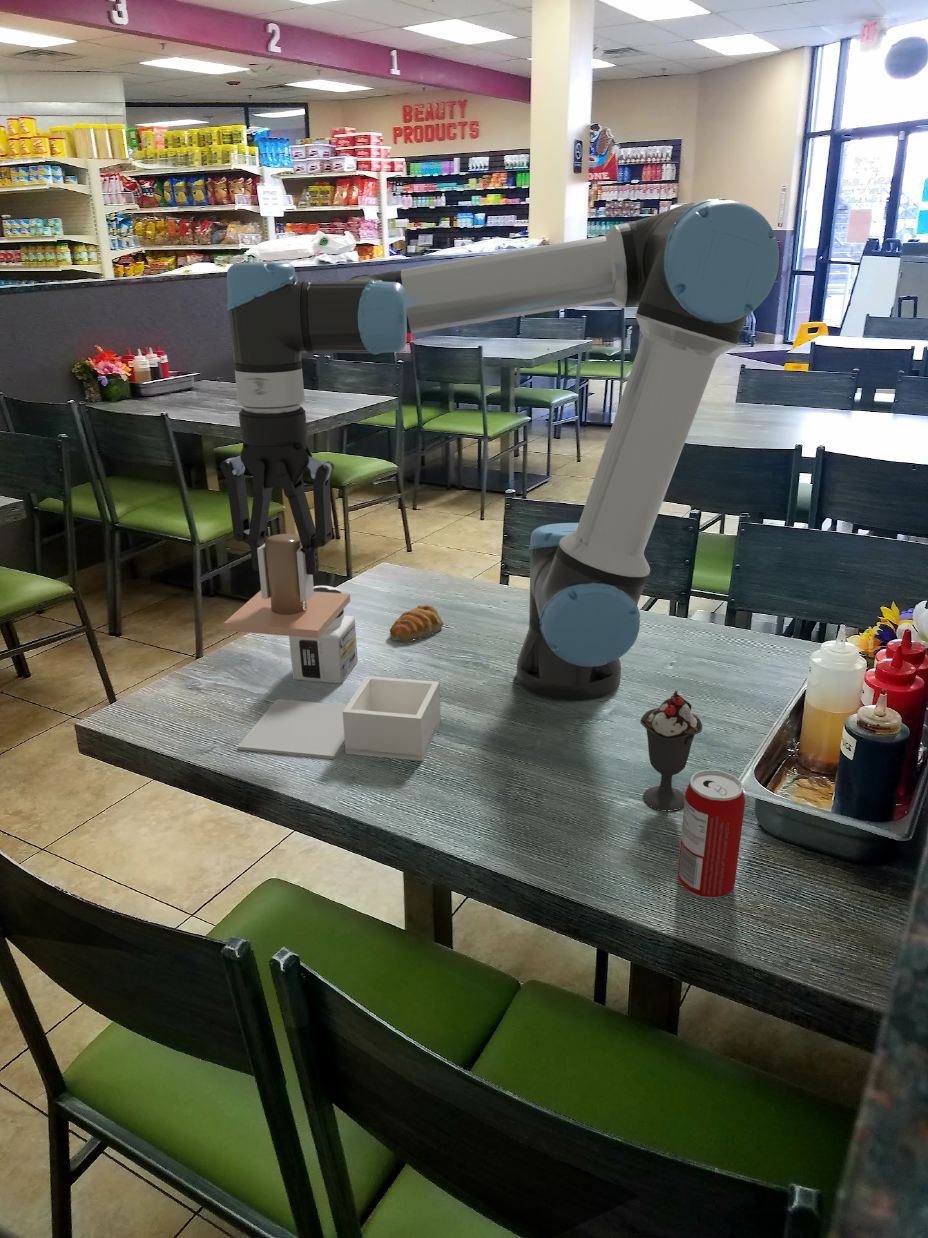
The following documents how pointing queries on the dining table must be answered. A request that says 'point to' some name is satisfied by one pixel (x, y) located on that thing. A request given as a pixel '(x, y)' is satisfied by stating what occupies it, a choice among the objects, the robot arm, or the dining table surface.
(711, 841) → the soda can
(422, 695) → the white open box
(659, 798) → the sundae
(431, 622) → the pastry
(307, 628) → the lid
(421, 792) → the dining table surface
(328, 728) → the mat
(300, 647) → the container
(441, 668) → the dining table surface
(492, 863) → the dining table surface
